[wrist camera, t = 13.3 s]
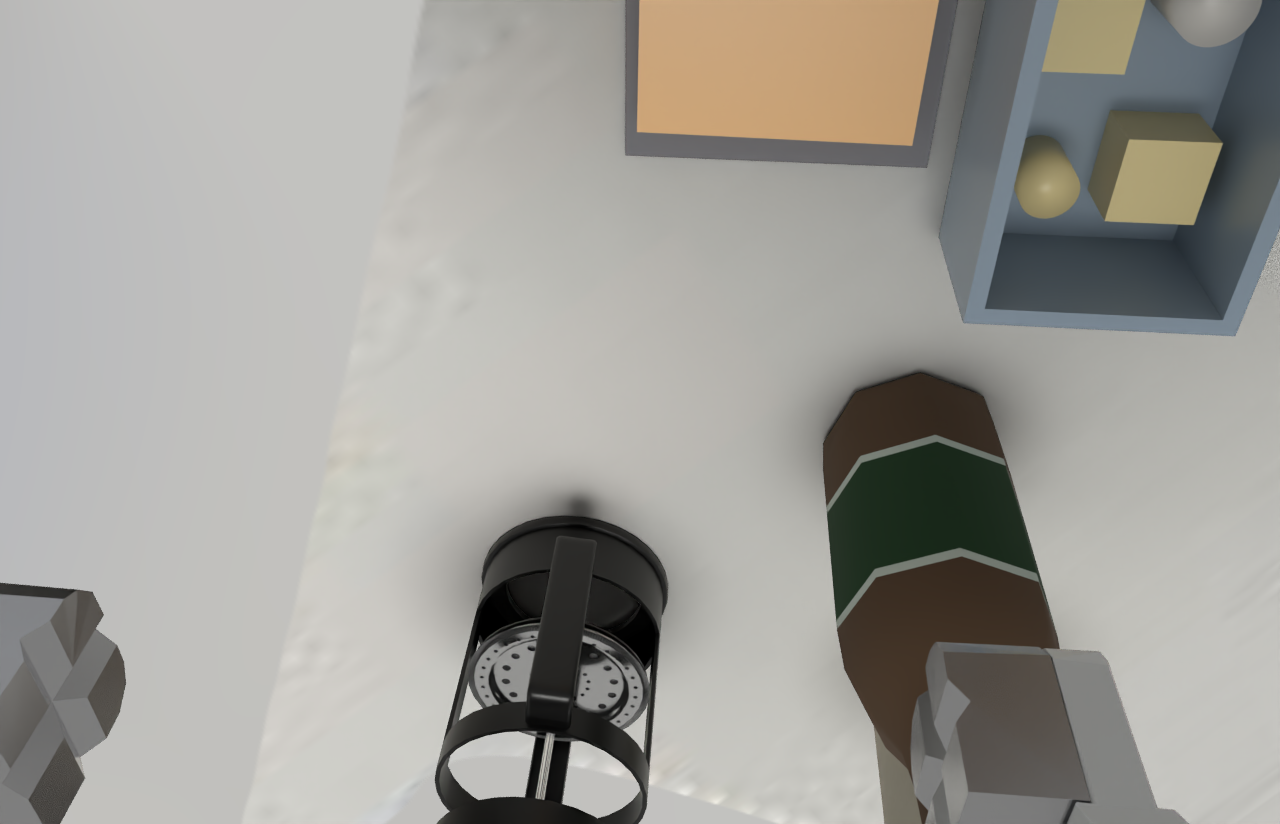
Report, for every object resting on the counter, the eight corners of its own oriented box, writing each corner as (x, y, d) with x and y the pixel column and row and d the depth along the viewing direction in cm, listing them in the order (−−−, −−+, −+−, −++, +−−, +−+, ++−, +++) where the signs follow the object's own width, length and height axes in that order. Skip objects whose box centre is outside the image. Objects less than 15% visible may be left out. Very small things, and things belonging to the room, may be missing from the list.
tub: (1325, -164, 33) (1422, -117, 28) (1179, 247, 42) (1235, 336, 37) (1020, -172, 33) (1065, -127, 29) (938, 236, 42) (963, 323, 37)
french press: (655, 663, 59) (615, 1155, 41) (481, 640, 59) (363, 1123, 41) (684, 503, 52) (651, 1016, 33) (485, 477, 51) (345, 977, 33)
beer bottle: (986, 506, 50) (1132, 1079, 31) (815, 502, 51) (857, 1061, 32) (1016, 368, 45) (1209, 945, 27) (826, 365, 46) (883, 928, 27)
